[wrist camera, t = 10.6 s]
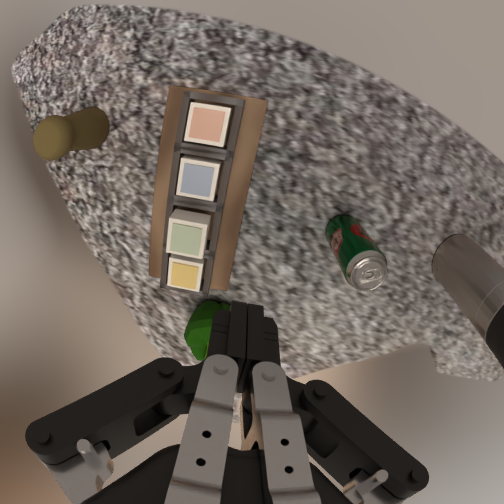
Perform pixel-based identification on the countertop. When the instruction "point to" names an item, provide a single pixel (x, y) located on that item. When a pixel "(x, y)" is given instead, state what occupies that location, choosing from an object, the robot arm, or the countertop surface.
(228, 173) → the keypad
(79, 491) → the robot arm
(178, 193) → the key
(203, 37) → the countertop surface
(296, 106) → the countertop surface
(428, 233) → the countertop surface
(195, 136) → the key
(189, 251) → the key
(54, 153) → the cork
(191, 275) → the key
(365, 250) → the soda can
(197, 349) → the bell pepper
